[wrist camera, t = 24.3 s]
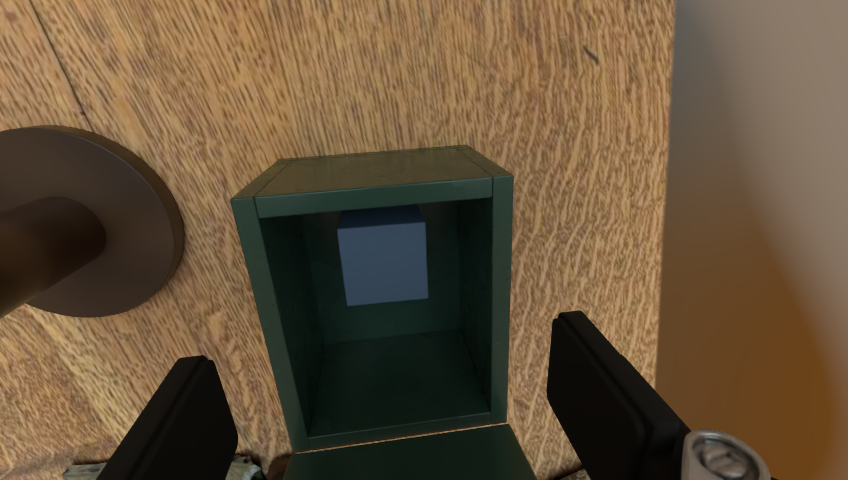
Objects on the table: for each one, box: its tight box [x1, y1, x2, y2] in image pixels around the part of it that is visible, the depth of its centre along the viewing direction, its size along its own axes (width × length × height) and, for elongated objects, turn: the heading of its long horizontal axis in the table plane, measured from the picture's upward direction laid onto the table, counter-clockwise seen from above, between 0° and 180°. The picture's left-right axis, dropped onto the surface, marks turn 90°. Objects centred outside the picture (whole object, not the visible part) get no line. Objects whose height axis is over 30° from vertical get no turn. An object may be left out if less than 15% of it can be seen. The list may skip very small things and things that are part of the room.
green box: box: [230, 145, 514, 453], centre depth 20 cm, size 12×10×8 cm
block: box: [337, 204, 428, 306], centre depth 20 cm, size 4×4×4 cm
